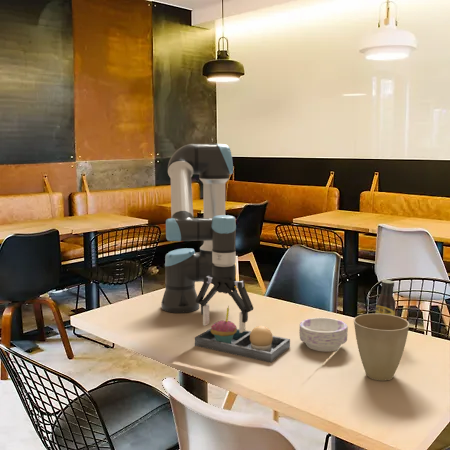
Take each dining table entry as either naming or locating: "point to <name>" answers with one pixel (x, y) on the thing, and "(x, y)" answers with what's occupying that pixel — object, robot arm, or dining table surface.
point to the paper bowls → (323, 333)
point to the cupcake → (224, 330)
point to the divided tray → (243, 345)
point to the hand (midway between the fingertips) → (223, 328)
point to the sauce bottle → (386, 299)
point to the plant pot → (380, 343)
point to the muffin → (261, 338)
